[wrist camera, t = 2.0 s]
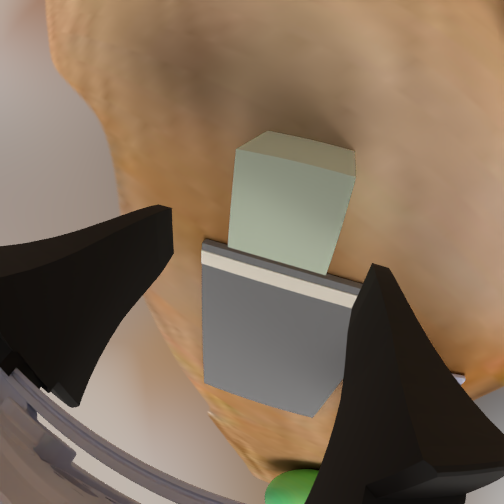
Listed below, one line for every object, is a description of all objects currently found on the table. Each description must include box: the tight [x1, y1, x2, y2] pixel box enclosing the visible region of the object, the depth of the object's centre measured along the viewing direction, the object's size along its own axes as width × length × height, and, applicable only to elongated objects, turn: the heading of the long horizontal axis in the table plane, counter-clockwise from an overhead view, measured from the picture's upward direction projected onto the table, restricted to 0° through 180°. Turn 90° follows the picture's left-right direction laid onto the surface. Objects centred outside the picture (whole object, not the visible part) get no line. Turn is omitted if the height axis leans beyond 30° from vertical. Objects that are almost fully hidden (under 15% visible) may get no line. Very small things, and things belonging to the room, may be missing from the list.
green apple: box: [265, 469, 319, 504], centre depth 40 cm, size 18×17×15 cm
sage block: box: [228, 131, 356, 275], centre depth 14 cm, size 5×5×5 cm
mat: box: [201, 239, 363, 418], centre depth 25 cm, size 14×21×1 cm, turn 174°
